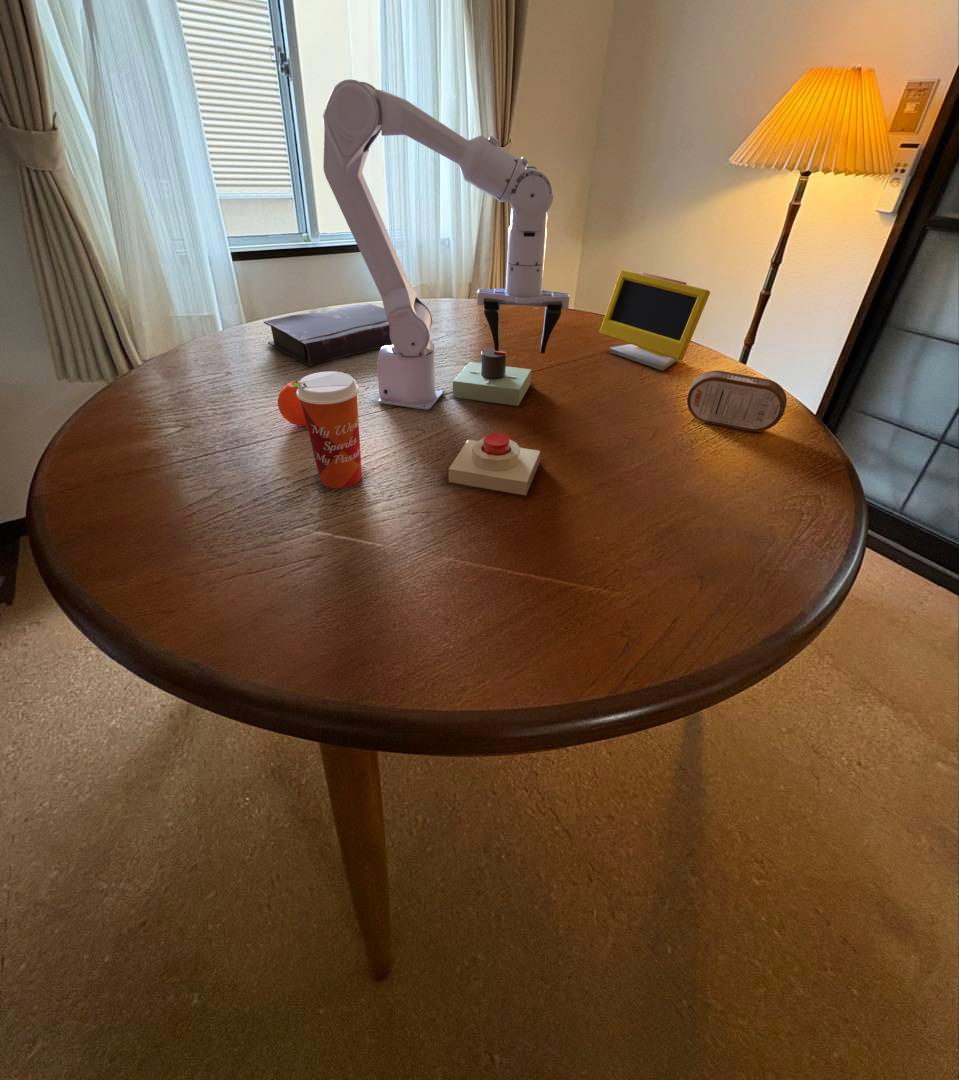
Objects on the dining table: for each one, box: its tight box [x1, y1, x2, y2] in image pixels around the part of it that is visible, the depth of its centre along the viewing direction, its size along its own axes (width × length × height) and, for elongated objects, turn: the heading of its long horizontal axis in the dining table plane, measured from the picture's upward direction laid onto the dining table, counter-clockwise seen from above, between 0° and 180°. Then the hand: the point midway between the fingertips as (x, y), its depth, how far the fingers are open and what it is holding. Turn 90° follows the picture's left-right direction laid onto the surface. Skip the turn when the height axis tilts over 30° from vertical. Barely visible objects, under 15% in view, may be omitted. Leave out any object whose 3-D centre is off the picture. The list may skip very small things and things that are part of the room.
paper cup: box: [296, 370, 362, 489], centre depth 74 cm, size 8×8×14 cm
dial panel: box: [452, 361, 532, 407], centre depth 102 cm, size 12×10×3 cm
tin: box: [686, 369, 788, 433], centre depth 91 cm, size 15×3×8 cm, turn 65°
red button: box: [483, 432, 511, 456], centre depth 77 cm, size 4×4×2 cm
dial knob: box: [480, 348, 507, 379], centre depth 100 cm, size 4×4×4 cm
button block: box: [448, 437, 541, 496], centre depth 79 cm, size 11×9×4 cm
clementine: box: [277, 380, 307, 427], centre depth 88 cm, size 8×7×7 cm
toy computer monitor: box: [598, 269, 711, 372], centre depth 113 cm, size 20×8×16 cm, turn 41°
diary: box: [263, 302, 392, 367], centre depth 120 cm, size 19×25×5 cm
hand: (519, 350), depth 94 cm, fingers open, 7 cm apart
